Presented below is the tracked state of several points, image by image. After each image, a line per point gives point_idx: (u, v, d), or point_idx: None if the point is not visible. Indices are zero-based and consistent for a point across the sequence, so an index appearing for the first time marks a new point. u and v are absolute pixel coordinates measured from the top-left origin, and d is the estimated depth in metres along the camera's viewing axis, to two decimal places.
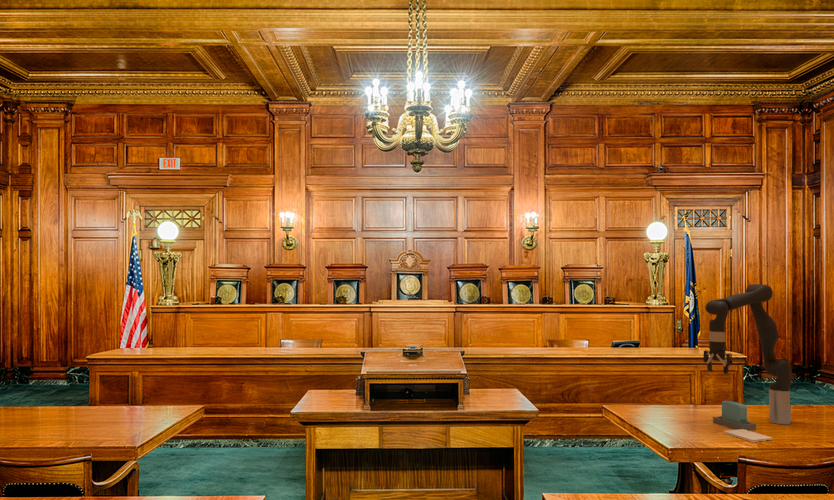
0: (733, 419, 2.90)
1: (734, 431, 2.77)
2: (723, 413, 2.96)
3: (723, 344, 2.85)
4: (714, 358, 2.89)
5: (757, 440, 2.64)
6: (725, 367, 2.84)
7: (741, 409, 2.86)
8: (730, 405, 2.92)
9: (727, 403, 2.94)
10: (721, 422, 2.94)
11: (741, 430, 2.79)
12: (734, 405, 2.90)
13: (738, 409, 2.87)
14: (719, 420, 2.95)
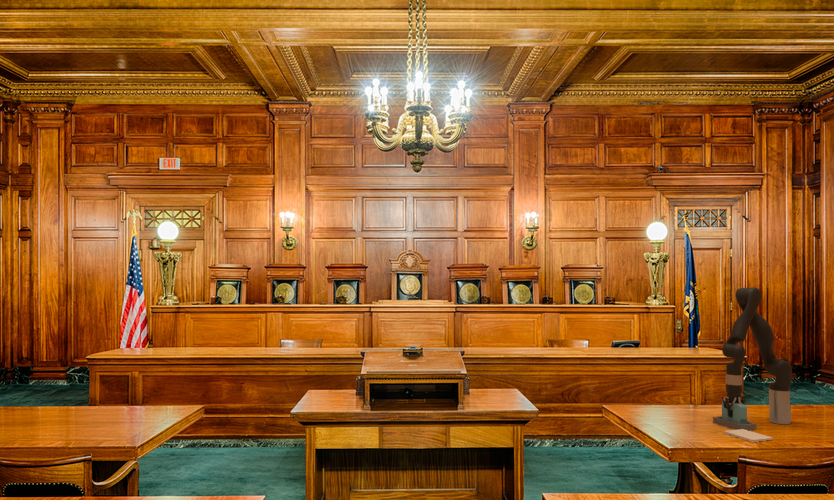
0: (733, 419, 2.90)
1: (734, 431, 2.77)
2: (723, 413, 2.96)
3: None
4: (735, 401, 2.92)
5: (757, 440, 2.64)
6: None
7: (741, 409, 2.86)
8: (730, 405, 2.92)
9: None
10: (721, 422, 2.94)
11: (741, 430, 2.79)
12: (734, 405, 2.90)
13: (738, 409, 2.87)
14: (719, 420, 2.95)
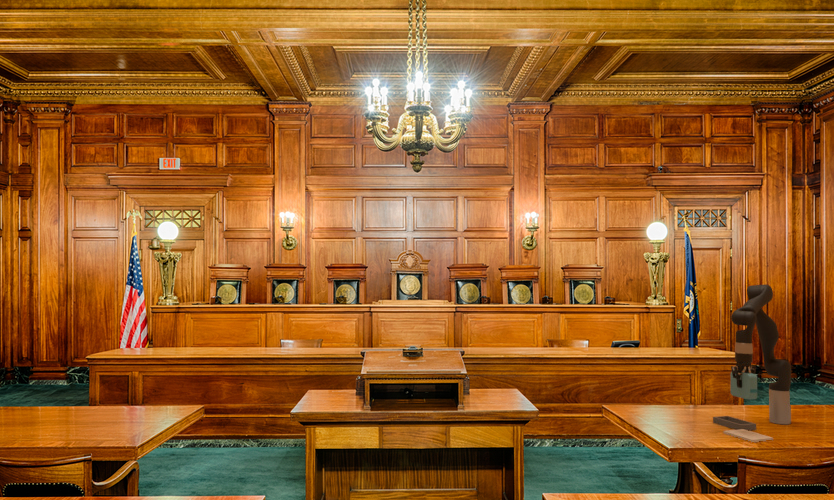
0: (742, 389, 2.74)
1: (734, 431, 2.77)
2: (732, 384, 2.81)
3: None
4: (745, 371, 2.76)
5: (757, 440, 2.64)
6: None
7: (751, 378, 2.71)
8: (739, 375, 2.76)
9: None
10: (721, 422, 2.94)
11: (741, 430, 2.79)
12: (744, 374, 2.74)
13: (748, 378, 2.71)
14: (719, 420, 2.95)
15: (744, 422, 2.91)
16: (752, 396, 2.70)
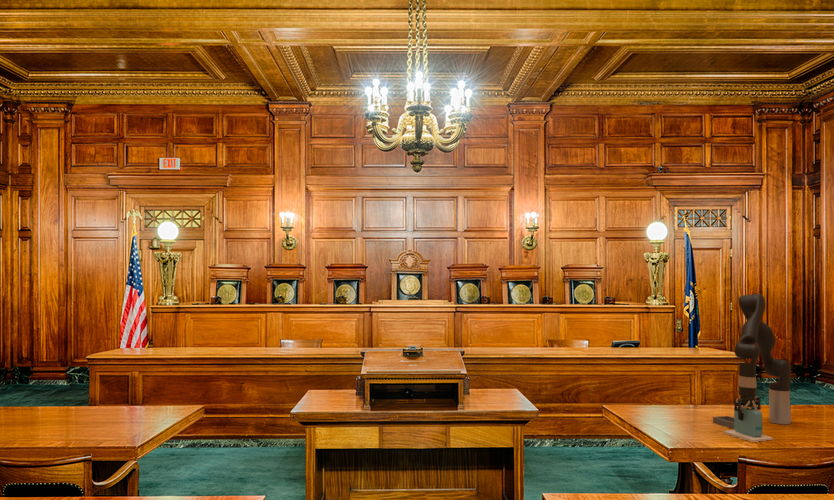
0: (747, 426, 2.71)
1: (734, 431, 2.77)
2: (736, 420, 2.77)
3: None
4: (748, 405, 2.72)
5: (757, 440, 2.64)
6: None
7: (756, 416, 2.67)
8: (744, 411, 2.73)
9: None
10: (721, 422, 2.94)
11: None
12: (748, 411, 2.70)
13: (753, 416, 2.68)
14: (719, 420, 2.95)
15: None
16: (757, 434, 2.67)
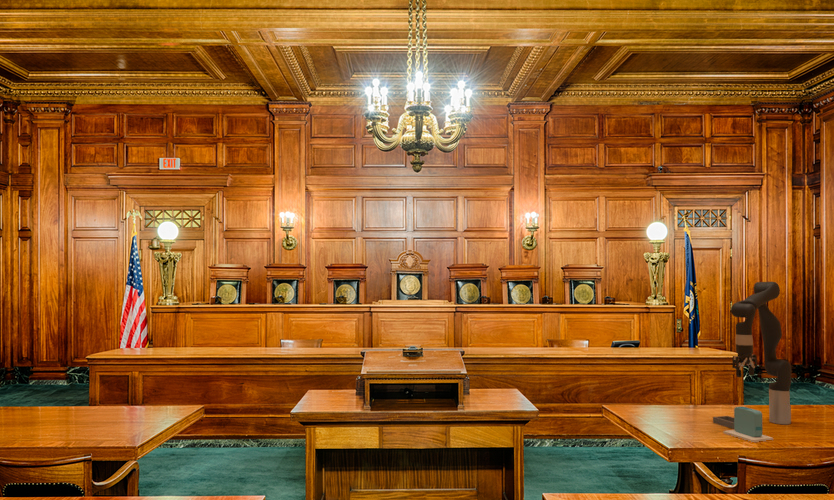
0: (747, 426, 2.71)
1: (734, 431, 2.77)
2: (736, 420, 2.77)
3: None
4: (745, 362, 2.82)
5: (757, 440, 2.64)
6: (753, 369, 2.84)
7: (756, 416, 2.67)
8: (744, 411, 2.73)
9: (740, 409, 2.74)
10: (721, 422, 2.94)
11: None
12: (748, 411, 2.70)
13: (753, 416, 2.68)
14: (719, 420, 2.95)
15: None
16: (757, 434, 2.67)
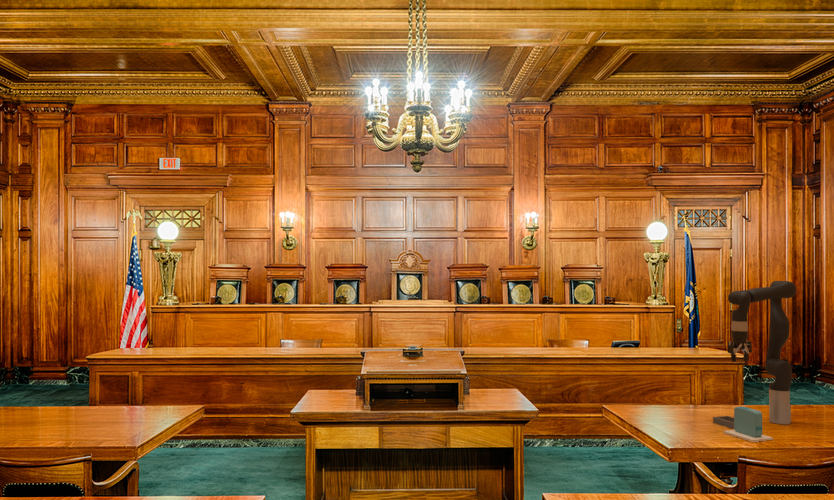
0: (747, 426, 2.71)
1: (734, 431, 2.77)
2: (736, 420, 2.77)
3: None
4: (740, 348, 2.93)
5: (757, 440, 2.64)
6: (747, 355, 2.95)
7: (756, 416, 2.67)
8: (744, 411, 2.73)
9: (740, 409, 2.74)
10: (721, 422, 2.94)
11: None
12: (748, 411, 2.70)
13: (753, 416, 2.68)
14: (719, 420, 2.95)
15: None
16: (757, 434, 2.67)
